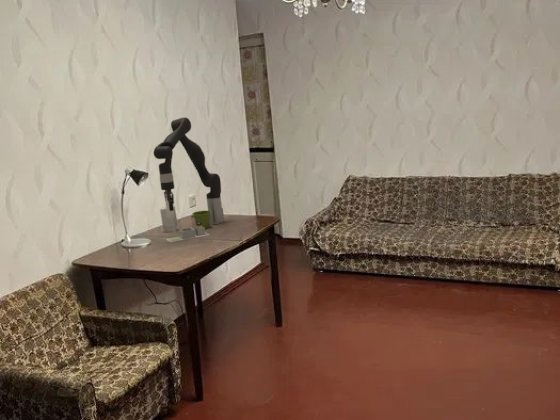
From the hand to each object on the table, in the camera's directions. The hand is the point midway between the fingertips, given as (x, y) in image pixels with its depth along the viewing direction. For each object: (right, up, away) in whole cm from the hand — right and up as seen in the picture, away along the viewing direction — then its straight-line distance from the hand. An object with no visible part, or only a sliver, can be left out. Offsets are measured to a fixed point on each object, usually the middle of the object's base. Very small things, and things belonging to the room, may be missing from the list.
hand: (170, 209), depth 307 cm
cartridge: (0, -5, +1) cm, 5 cm away
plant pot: (+15, -13, +28) cm, 35 cm away
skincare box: (-7, -14, +33) cm, 36 cm away
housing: (+9, -17, +7) cm, 21 cm away
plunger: (+16, -14, +10) cm, 24 cm away
